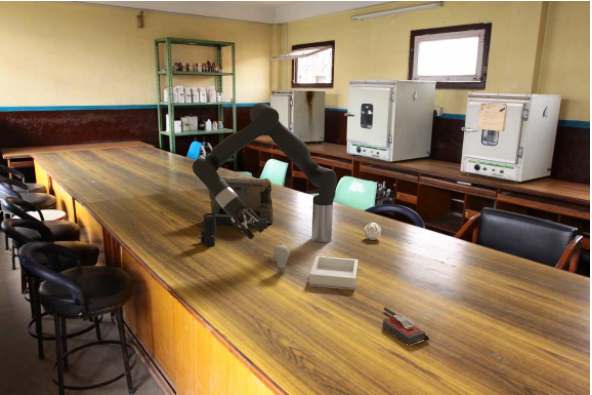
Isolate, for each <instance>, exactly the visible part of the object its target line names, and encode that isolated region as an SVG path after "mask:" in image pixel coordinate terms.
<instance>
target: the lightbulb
mask: <svg viewBox="0 0 592 395" xmlns="http://www.w3.org/2000/svg"><path fill="white" fill-rule="evenodd" d="M272 254H273V257H274V259H275V261H276V266H277V271H278V273H280V274H283V273H284V272H285V270H286V264H287V261H288V259H289V257H290V255H291V251H290V248H289V247H288V246H287V245H285V244H278V245H277V246H275V247H274V249H273V253H272Z"/></svg>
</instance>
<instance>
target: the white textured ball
mask: <svg viewBox="0 0 592 395" xmlns="http://www.w3.org/2000/svg"><path fill="white" fill-rule="evenodd" d="M381 233H382V228H381V226H380V225H379V224H378V223H376V222H370V223H368V224H366V226H365V227H364V229H363V234H364V236H365V237H366V239H368V240H370V241H371V240H372V241H375V240H377V239H379V238H380V236H381Z"/></svg>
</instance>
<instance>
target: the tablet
mask: <svg viewBox="0 0 592 395" xmlns="http://www.w3.org/2000/svg"><path fill="white" fill-rule="evenodd" d="M219 176H220V177H221V178H222V179H223V180H224V181H225V182H226V183H227V184H228V185H229V186H230V188H231V189H233V190H234V191H235V193H236V194H237V195H238V196H239V197H240V199H241V200H242V201H243V202H244V203H245V207H244V208H245V209H246V210H247V209H249V208H251V209H252V210H253V211H254V212H255V214H256V215H257V216H258V217H259V218H260V219H259V223H260V225H261V226H262V227H263V228H264V229H268V228H269V225H268V223H269V224H270V225H273V223H274V208H273V198H272V192H273V189H272V187H273V186H272V181H271V180H270V178H268V177H266V178H253V177H240V176H239V177H238V176H222V175H219ZM208 195H209V199H210V208H211V210H210V211H211V213H214V214H216V218H215V219H216V225H219V226H230V227H234V225H233V224H232V223H231V221H230V219H231V218H232V217H230V216H229V215H228V214H227V213H226V212H225V211H224V209H223V208H222V207H221V206H220V205H219V203H218V202H217V200H216V199H215V197H214V196H213V195H212V194H211V193H210V191H209V190H208ZM254 218H256V217H255V216H254ZM254 226H255V225H252V224H251V223H247V227H248V228H255V227H254ZM238 227H239V225H238Z"/></svg>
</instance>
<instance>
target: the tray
mask: <svg viewBox="0 0 592 395" xmlns="http://www.w3.org/2000/svg"><path fill="white" fill-rule="evenodd" d="M358 266H359V258H358V259H357V258H348V257H346V258H345V257H334V256H325V255H323V256H322V255H316V256H315V259H314V262H313V265H312V268H311V270H310V272H309V281H308V282H309V285H308V286H309V287H318V288H328V289H336V288H339V290H346V289H353V290H352V291H356V284H357V276H358Z"/></svg>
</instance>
